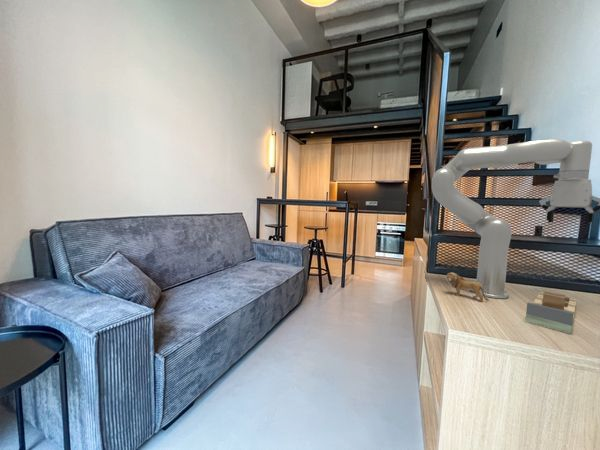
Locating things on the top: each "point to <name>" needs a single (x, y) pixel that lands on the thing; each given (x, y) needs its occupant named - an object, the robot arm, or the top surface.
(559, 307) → the walnut block
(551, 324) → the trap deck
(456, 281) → the lion figurine
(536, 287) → the top surface
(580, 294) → the top surface
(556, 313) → the end stop
